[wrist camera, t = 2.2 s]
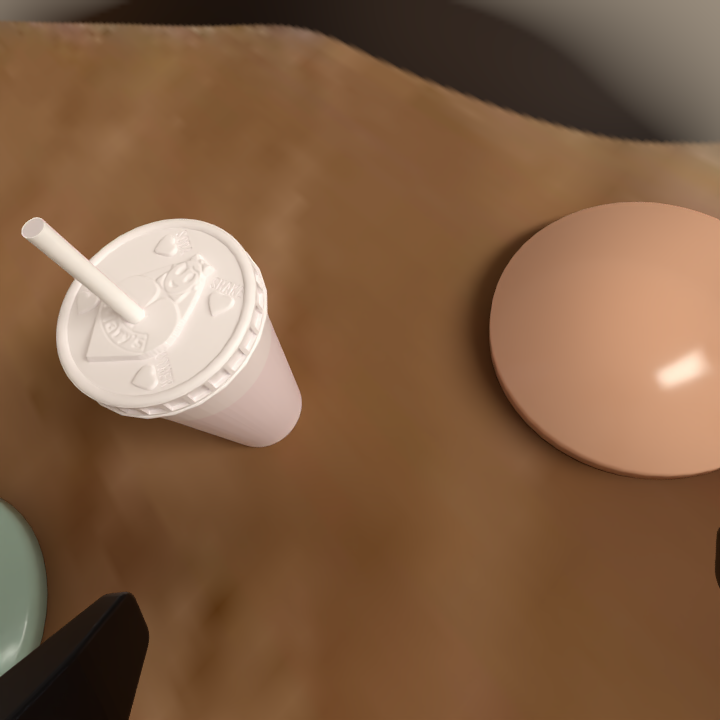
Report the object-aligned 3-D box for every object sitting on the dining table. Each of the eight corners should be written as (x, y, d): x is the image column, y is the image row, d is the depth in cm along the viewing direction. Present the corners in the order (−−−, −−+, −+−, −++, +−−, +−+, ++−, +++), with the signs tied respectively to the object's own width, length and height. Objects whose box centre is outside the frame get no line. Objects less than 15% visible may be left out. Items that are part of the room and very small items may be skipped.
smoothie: (169, 407, 26) (-116, 225, 13) (273, 317, 27) (100, 65, 14) (249, 509, 23) (-8, 406, 11) (361, 406, 24) (246, 196, 12)
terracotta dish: (798, 516, 20) (817, 511, 19) (463, 439, 23) (463, 431, 22) (800, 237, 24) (816, 219, 23) (515, 204, 27) (517, 187, 26)
